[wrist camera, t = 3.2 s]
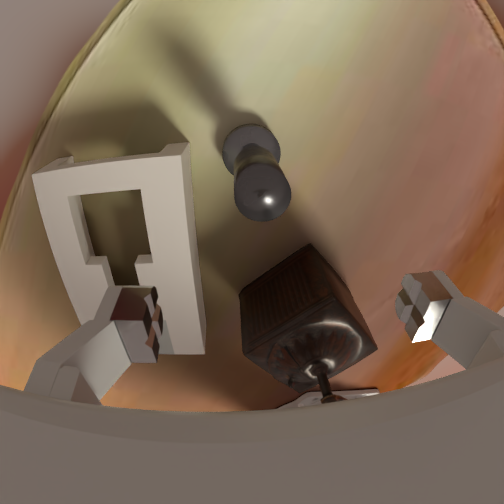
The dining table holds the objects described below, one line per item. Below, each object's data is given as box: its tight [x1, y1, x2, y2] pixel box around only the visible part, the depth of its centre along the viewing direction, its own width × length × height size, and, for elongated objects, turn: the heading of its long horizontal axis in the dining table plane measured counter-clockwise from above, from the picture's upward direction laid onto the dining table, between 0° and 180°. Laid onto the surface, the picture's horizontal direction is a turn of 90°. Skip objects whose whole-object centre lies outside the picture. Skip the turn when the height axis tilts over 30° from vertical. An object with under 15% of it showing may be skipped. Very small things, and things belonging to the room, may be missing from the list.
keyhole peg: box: [223, 124, 291, 222], centre depth 22 cm, size 5×5×12 cm
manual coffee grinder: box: [239, 244, 378, 404], centre depth 30 cm, size 16×11×18 cm
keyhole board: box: [32, 142, 207, 354], centre depth 29 cm, size 14×22×5 cm, turn 0°
